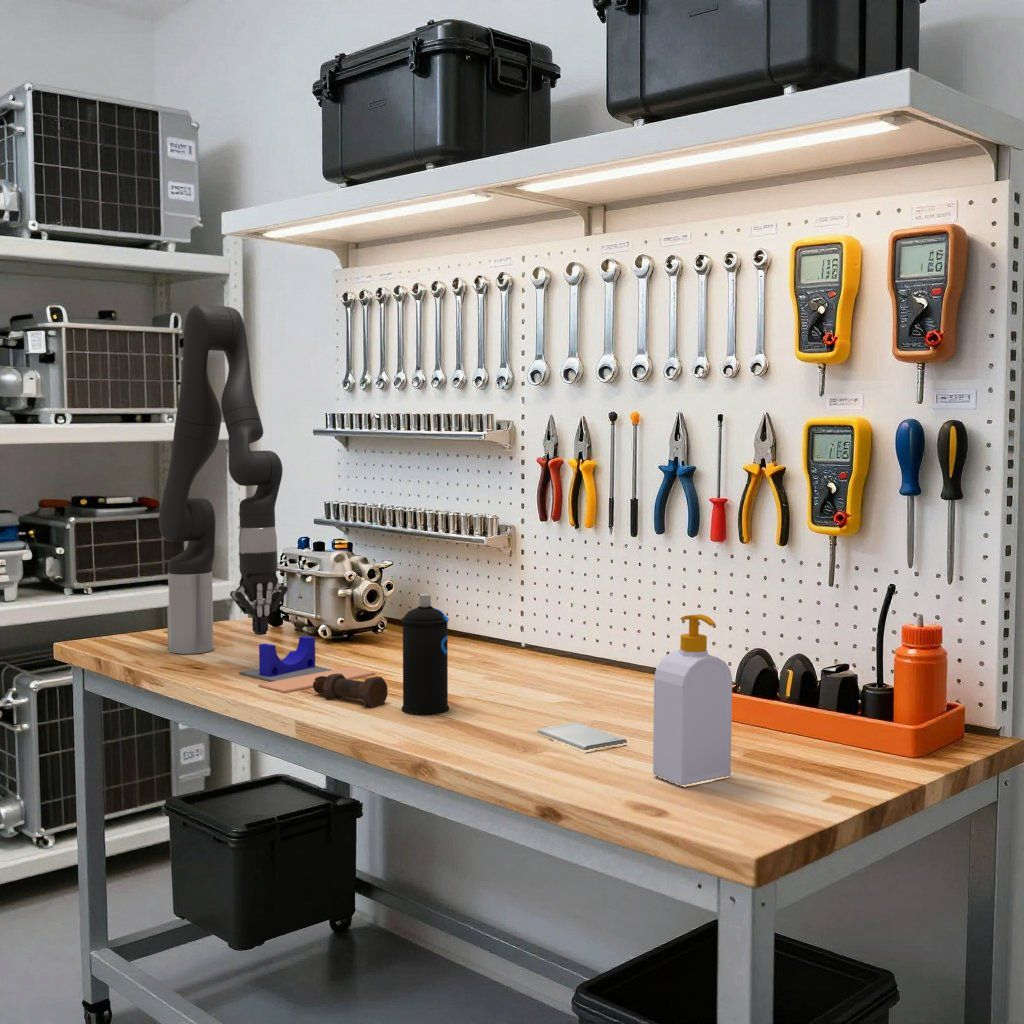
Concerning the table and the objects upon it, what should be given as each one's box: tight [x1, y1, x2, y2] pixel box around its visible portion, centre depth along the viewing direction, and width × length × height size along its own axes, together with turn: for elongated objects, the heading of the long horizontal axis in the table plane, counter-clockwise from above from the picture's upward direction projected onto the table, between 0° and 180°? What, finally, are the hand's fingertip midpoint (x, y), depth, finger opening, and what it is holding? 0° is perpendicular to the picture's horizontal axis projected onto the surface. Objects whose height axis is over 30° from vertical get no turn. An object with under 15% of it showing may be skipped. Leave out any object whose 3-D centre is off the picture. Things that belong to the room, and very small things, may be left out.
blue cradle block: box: [258, 635, 316, 677], centre depth 228 cm, size 12×4×6 cm, turn 143°
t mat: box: [238, 665, 376, 694], centre depth 225 cm, size 20×22×1 cm
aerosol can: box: [400, 593, 450, 716], centre depth 198 cm, size 8×8×20 cm
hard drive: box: [537, 721, 628, 750], centre depth 179 cm, size 2×8×12 cm
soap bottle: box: [652, 613, 733, 785], centre depth 159 cm, size 9×7×23 cm
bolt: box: [312, 674, 389, 708], centre depth 205 cm, size 6×5×15 cm
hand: (260, 634), depth 233 cm, fingers closed
